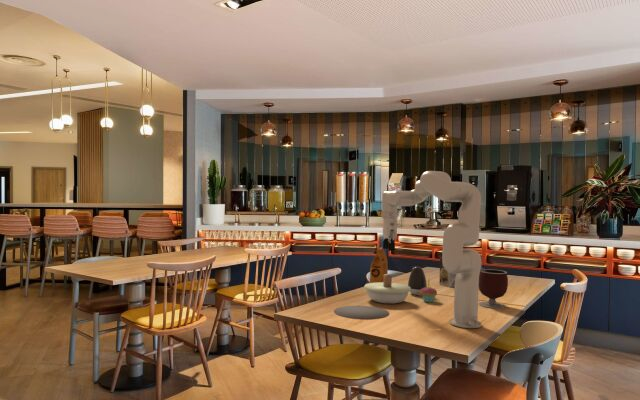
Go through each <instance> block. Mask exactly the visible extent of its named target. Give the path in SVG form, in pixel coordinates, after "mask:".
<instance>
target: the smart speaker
mask: <svg viewBox="0 0 640 400" xmlns="http://www.w3.org/2000/svg"><path fill="white" fill-rule="evenodd" d="M411 269H412V270H411V272H410V274H409V278H408V280H407V281H408V283H407V286H409V287H410V288H411V291H409V293H410V294H412V295H414V296H422V294H420V291H421V289H423V288H425V287H428V283H427V278H426V275H425V272H424V269H423V268H422V267H420V266H411Z"/></svg>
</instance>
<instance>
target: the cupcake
mask: <svg viewBox="0 0 640 400" xmlns="http://www.w3.org/2000/svg"><path fill="white" fill-rule="evenodd" d="M427 282H428V283H427V287H425V288H423V289H421V291H420V294H422V295H421V296H422V299H423V302H425V303H434V300H435V298H436V296H438V291H437V290H436V289H435V288H433V287H430V279H428V280H427Z"/></svg>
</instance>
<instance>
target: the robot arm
mask: <svg viewBox="0 0 640 400" xmlns="http://www.w3.org/2000/svg"><path fill="white" fill-rule="evenodd" d="M381 196H382V198H381V199H382V200H381V201H382V202H381V204H382V205H381V219H383V222H382V236H383V237H382V248H383V250H387V251H389V252H395V250H396V239H397V238H398V226H397V219H398V207H412V206H416V205H418V204H421V203H423V202H424V201H426V199H427V198H428V197H430V196H434V197H436V198H437V199H439V200H441V201H443V202H448V203H450V202H451V203H454V202H455V203H461V206H460V207H459V209H458V214H457V215H458V219H457V220H458V221H457V223H456V222H455V223H451V224H449V225H448V226H447V227H446V228H445V229H444V232H443V237H442V253H441V254H442V256H441V257H442V262H443V266H444V268H445V270H446V271H448V272H449V273H457V275H456V278H455V287H454V294H453V295H454V299H453V318H451V319H450V320H449V323H450V325H452V326H455V327H458V328H461V329H462V328H463V329H477V328H481V327H482V322H481V321H479V320H478V318H479V316H478V314H479V274H480V269H481V267H482V264H483V263H482V256H481V254H480V253H479V252H478V251H477V250H475V249H472V248H464V247H469V246H470V247H471V246H474V245H476V244H477V243H478V242H479V238H480V221H481V220H480V219H481V217H480V216H481V206H482V196H481V192H480V191H479V188H477V186H476V185H473V184H472V183H470V182H464V181H452V179H451V176H450V175H449V173H447V172H444V171H439V170H438V171H437V170H427V171H424V172H423V173H422V174H421V175H420V178H419V180H417V181H416V182H415V185H414V189H412V190H392V191H391V190H386V191H383V192H382V195H381Z"/></svg>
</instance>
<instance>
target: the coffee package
mask: <svg viewBox="0 0 640 400" xmlns="http://www.w3.org/2000/svg"><path fill="white" fill-rule="evenodd" d="M384 250H385V249H383V246H382V247H379V248H375V249H374V252H376V253H375V256H374V258H373V259H372V261H371V263H370V267H369V283H378V282H384V274H388V272H389V266H388V264H389V263H388V257H387V254H386V253H385V251H384Z"/></svg>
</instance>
